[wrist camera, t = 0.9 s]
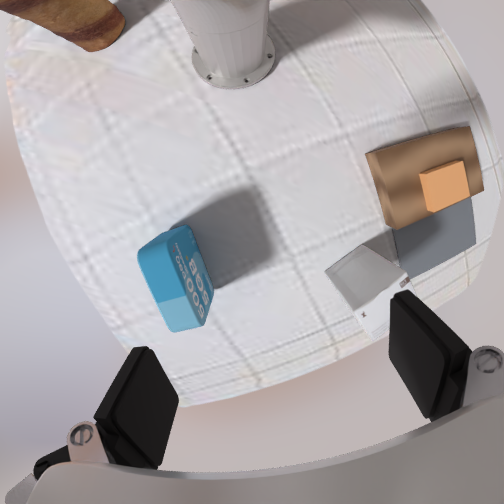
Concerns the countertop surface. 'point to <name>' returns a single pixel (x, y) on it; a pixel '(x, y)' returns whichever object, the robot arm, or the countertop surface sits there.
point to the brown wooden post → (72, 19)
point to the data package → (177, 278)
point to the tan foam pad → (444, 185)
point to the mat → (435, 238)
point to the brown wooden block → (417, 161)
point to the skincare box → (368, 287)
